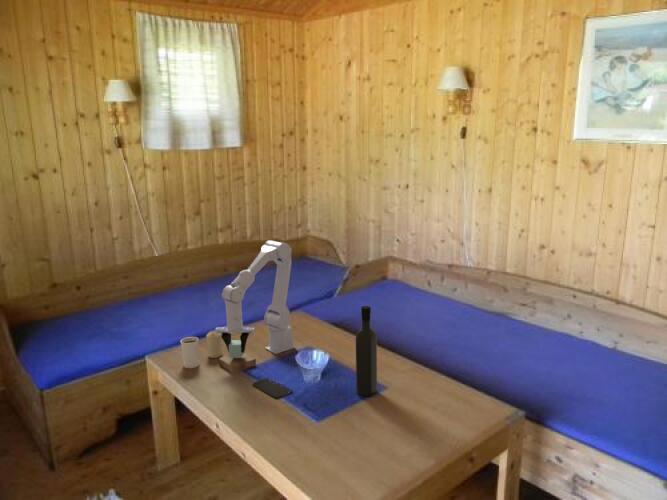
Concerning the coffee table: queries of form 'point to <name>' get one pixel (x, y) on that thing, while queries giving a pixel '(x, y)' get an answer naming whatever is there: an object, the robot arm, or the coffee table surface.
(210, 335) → the candle
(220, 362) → the walnut base
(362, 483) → the coffee table surface
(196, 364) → the beige cup
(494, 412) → the coffee table surface
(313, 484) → the coffee table surface
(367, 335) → the wine bottle
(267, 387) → the phone
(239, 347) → the painted block
